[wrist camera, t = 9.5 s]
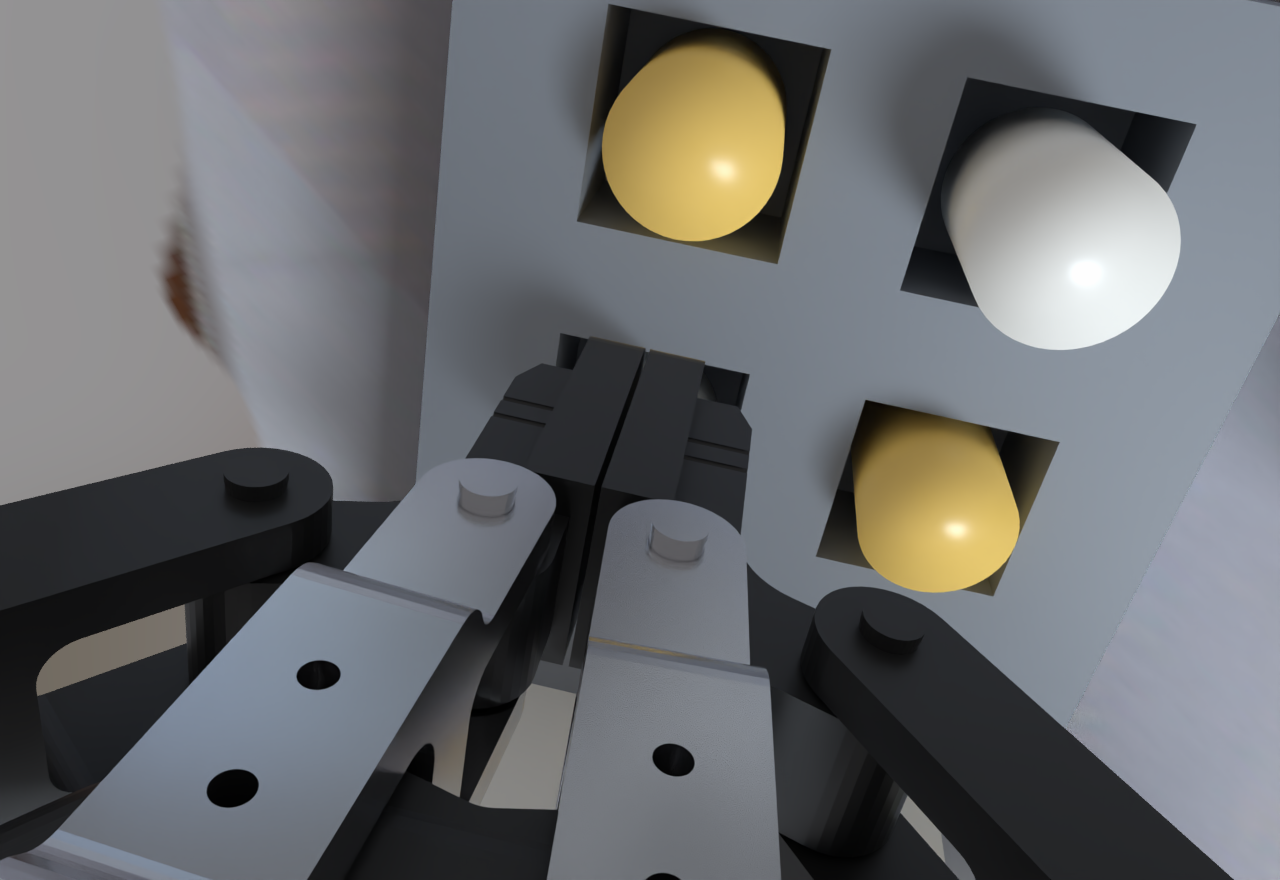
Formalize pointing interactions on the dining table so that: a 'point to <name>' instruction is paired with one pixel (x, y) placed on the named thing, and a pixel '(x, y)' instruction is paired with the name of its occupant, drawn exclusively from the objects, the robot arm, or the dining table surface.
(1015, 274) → the cream button
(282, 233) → the dining table surface
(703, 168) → the amber button
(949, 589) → the amber button
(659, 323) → the console
